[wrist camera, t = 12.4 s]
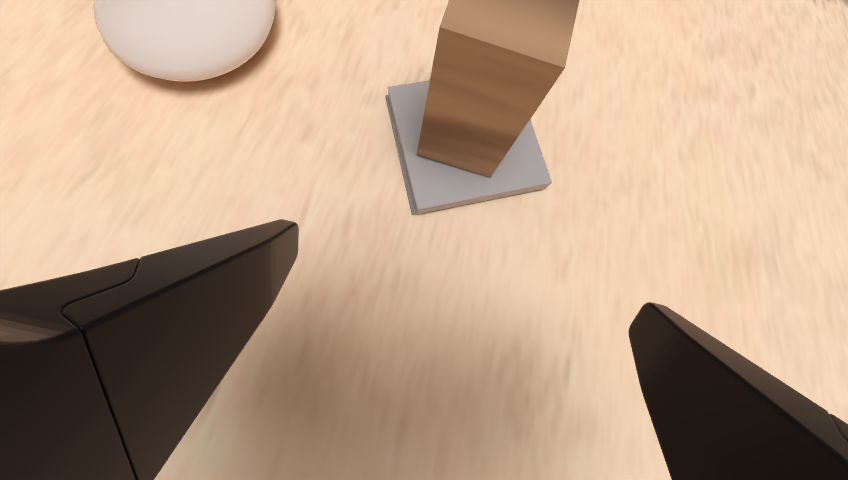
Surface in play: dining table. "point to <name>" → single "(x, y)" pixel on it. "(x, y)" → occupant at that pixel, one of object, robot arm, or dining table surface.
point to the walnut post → (491, 77)
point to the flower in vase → (184, 34)
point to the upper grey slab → (454, 185)
